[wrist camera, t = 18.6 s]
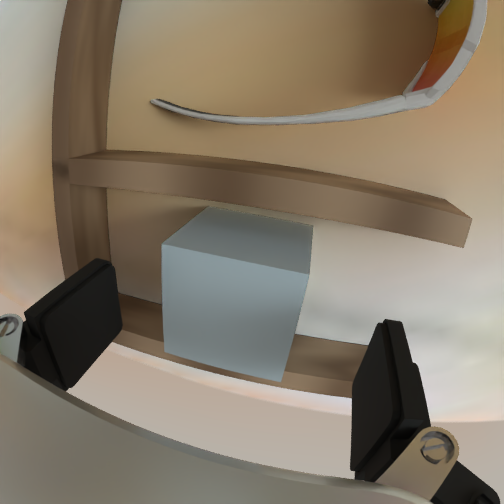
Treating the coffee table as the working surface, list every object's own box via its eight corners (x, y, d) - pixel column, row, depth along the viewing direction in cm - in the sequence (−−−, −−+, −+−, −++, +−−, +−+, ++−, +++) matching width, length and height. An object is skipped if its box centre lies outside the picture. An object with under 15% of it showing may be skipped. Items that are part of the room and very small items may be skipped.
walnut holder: (447, -98, 5) (461, -121, 2) (386, 364, 16) (392, 401, 14) (140, -109, 7) (117, -128, 4) (102, 303, 19) (76, 327, 16)
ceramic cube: (313, 225, 14) (309, 274, 10) (293, 314, 16) (280, 382, 12) (209, 205, 15) (161, 243, 10) (202, 294, 17) (164, 352, 12)
